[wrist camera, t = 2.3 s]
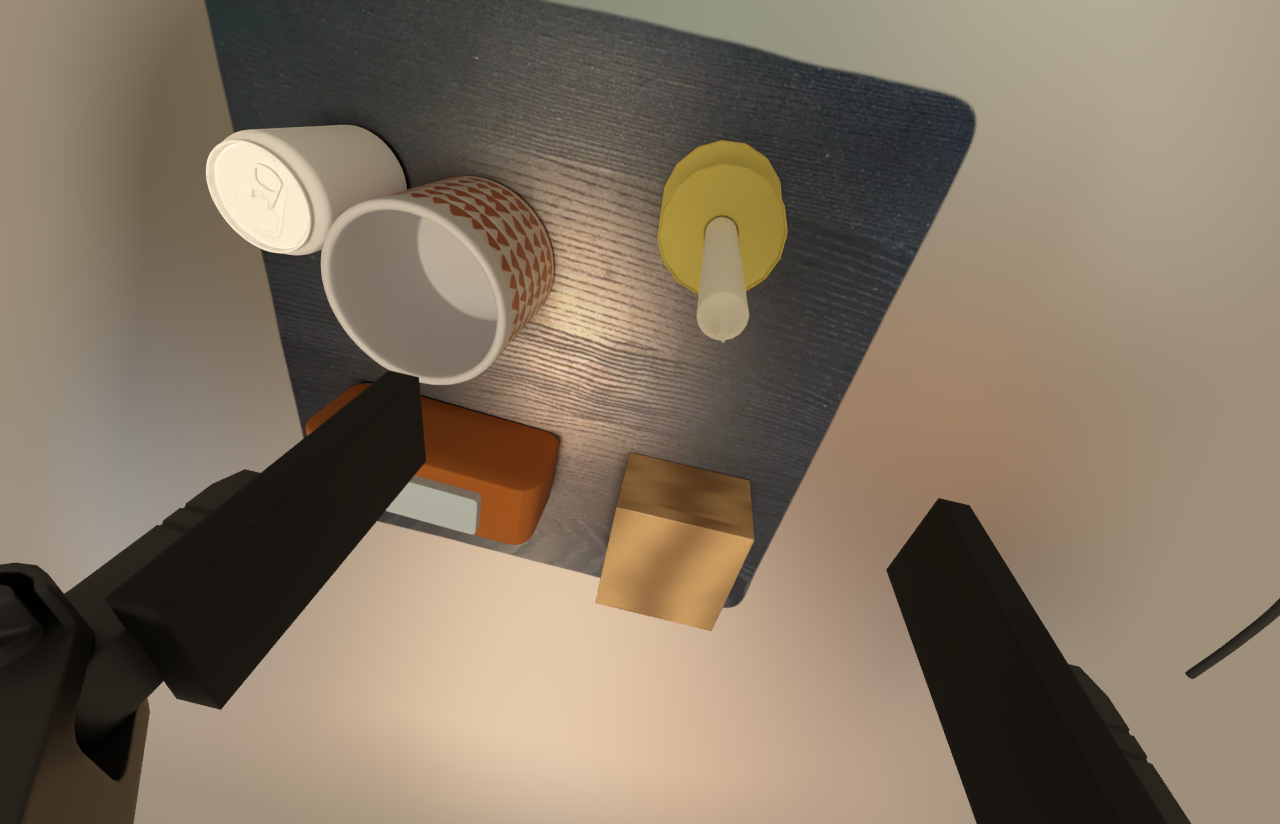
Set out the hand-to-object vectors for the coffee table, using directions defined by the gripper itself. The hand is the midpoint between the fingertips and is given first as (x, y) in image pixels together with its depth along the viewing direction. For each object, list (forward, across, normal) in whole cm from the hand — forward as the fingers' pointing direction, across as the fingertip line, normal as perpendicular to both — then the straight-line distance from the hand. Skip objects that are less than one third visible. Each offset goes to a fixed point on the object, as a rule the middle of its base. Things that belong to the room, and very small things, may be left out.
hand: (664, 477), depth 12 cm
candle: (+34, +1, +1) cm, 34 cm away
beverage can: (+34, -30, -3) cm, 45 cm away
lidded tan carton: (+34, +5, -34) cm, 48 cm away
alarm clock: (+34, -22, -29) cm, 50 cm away
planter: (+34, -19, -7) cm, 40 cm away
